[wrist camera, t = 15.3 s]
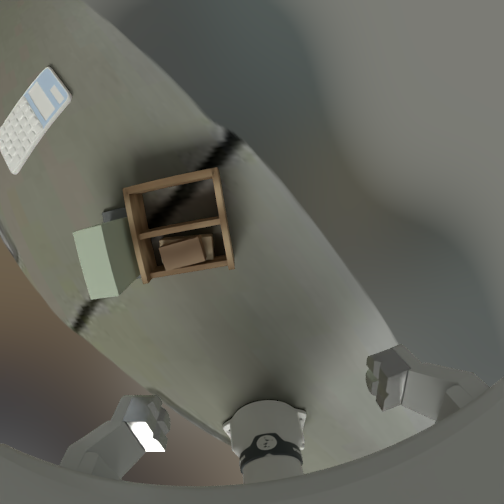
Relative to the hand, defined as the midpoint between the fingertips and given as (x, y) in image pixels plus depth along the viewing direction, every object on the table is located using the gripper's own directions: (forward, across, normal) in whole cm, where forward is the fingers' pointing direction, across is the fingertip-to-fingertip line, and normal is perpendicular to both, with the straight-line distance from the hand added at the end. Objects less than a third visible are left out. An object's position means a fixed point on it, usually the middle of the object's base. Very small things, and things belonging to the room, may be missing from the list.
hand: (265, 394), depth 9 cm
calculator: (+35, +37, -33) cm, 61 cm away
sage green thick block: (+34, +18, -3) cm, 39 cm away
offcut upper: (+32, +9, 0) cm, 33 cm away
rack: (+35, +8, -4) cm, 36 cm away
